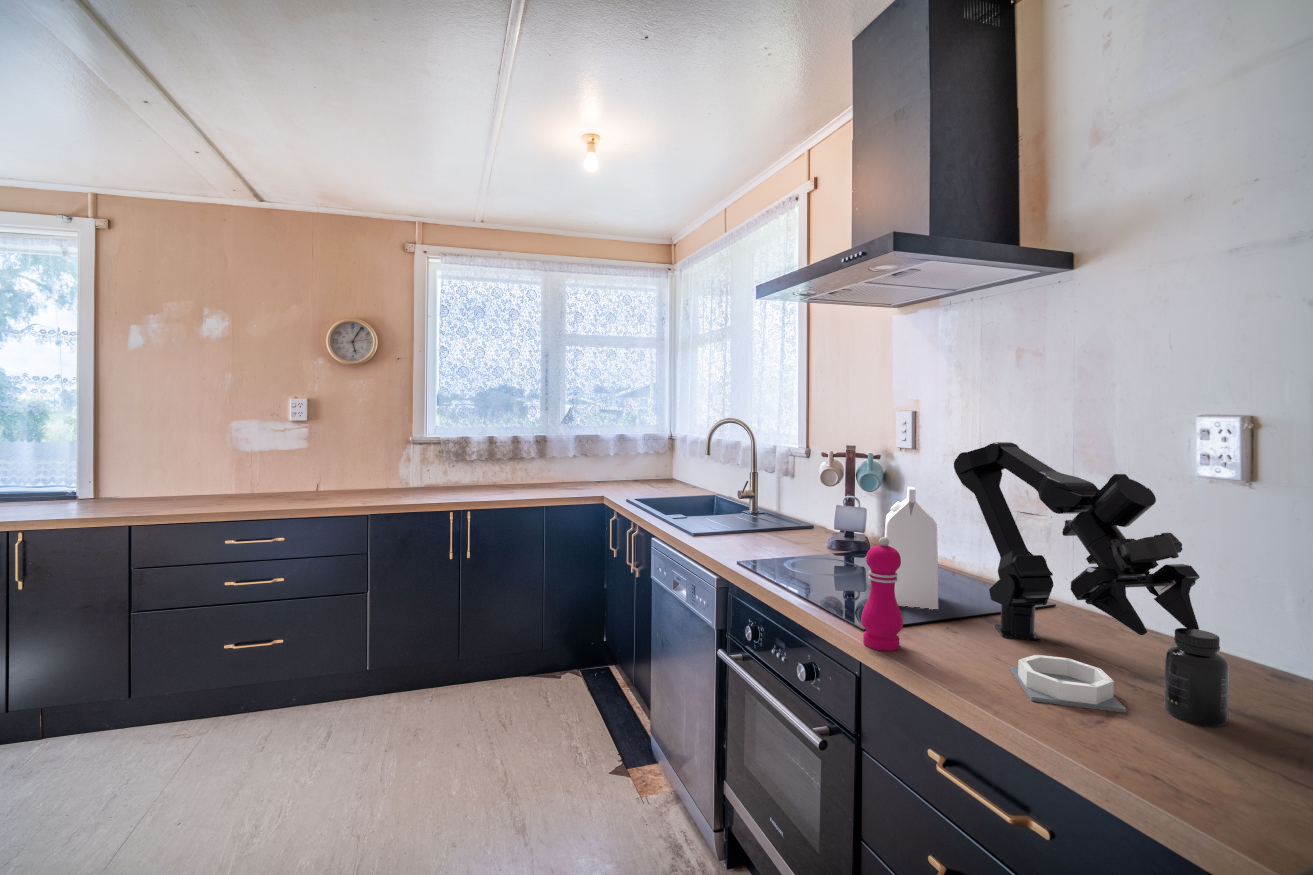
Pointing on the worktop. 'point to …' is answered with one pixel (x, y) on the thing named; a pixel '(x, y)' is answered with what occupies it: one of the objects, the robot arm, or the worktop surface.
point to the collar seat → (1066, 683)
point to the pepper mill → (882, 599)
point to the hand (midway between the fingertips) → (1170, 632)
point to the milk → (914, 552)
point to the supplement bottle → (1196, 679)
